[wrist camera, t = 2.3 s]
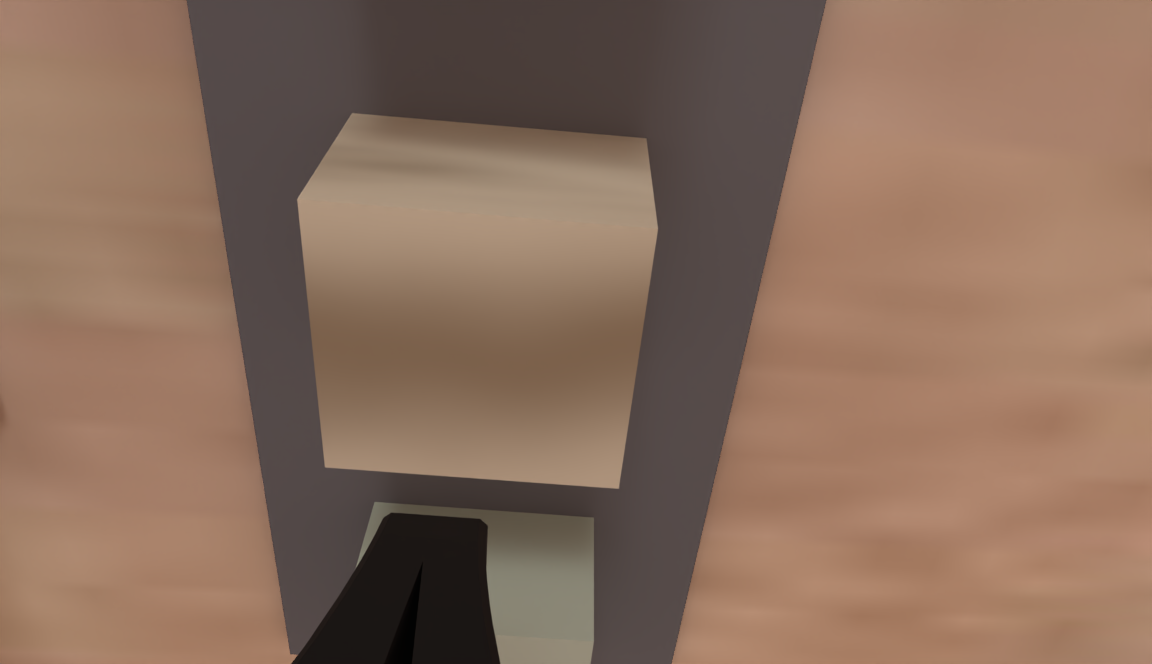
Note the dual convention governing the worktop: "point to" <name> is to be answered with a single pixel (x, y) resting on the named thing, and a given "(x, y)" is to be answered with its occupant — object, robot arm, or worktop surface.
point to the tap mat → (527, 100)
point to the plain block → (477, 298)
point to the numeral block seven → (529, 580)
